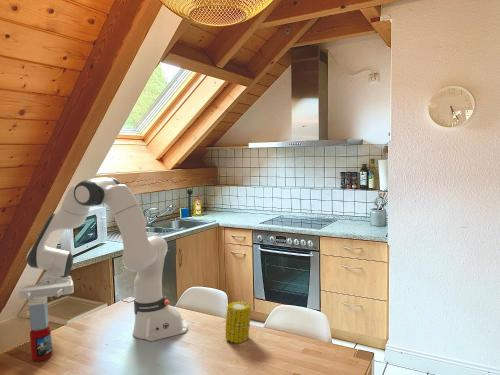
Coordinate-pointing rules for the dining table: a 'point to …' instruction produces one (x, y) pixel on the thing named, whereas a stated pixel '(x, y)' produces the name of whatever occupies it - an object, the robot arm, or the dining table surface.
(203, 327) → the dining table surface
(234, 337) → the food
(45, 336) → the beverage can
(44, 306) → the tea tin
